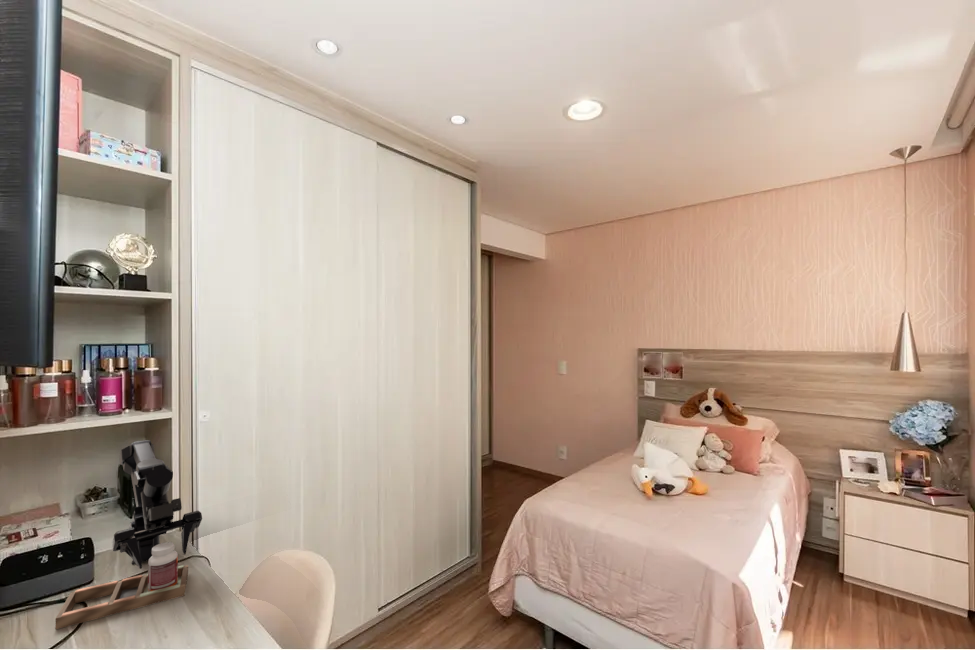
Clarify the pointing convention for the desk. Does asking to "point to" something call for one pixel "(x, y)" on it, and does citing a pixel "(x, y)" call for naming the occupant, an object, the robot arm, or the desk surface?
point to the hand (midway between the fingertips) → (163, 560)
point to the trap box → (118, 598)
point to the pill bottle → (162, 567)
